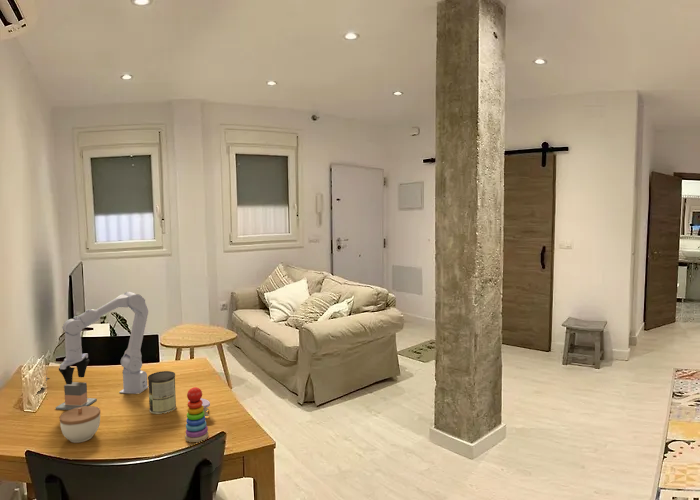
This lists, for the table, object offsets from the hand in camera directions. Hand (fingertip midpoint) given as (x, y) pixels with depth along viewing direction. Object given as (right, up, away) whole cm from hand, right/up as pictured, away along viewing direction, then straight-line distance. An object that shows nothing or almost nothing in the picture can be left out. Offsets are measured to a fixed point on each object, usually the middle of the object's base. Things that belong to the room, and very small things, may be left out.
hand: (75, 380), depth 195 cm
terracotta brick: (0, -10, +1) cm, 10 cm away
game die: (-28, -9, +19) cm, 35 cm away
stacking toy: (+59, -13, -27) cm, 66 cm away
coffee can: (+37, -11, -3) cm, 39 cm away
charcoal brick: (0, -6, +1) cm, 6 cm away
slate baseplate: (0, -10, +1) cm, 10 cm away
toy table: (+54, -12, -8) cm, 56 cm away
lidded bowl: (+18, -13, -27) cm, 35 cm away
